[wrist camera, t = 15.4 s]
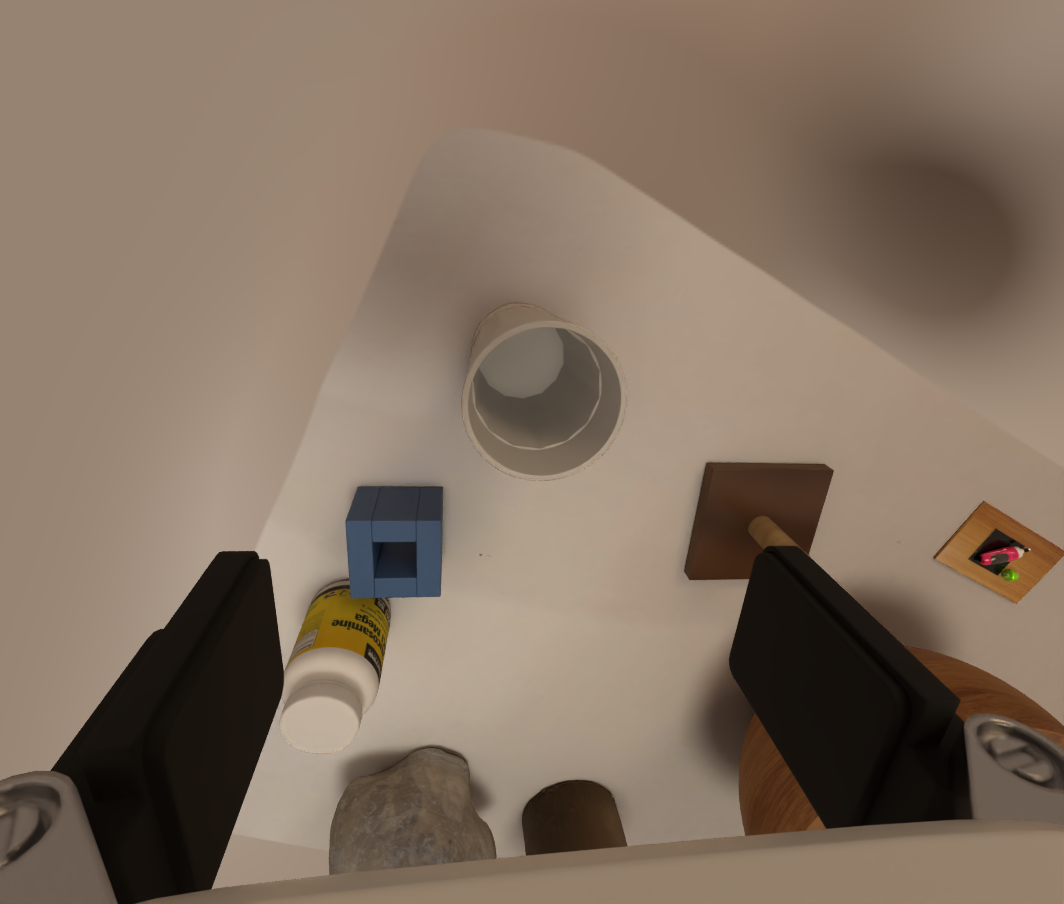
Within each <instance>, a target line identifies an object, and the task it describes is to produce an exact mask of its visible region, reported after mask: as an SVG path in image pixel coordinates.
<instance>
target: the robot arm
mask: <svg viewBox="0 0 1064 904" xmlns="http://www.w3.org/2000/svg"><path fill="white" fill-rule="evenodd" d="M729 665H730V670H731V673H732V675H733V677H734V679H735V680H736V682H737V684H738V685H739V687H740V689H741V690H742V692H743V694H744V695H745V697H746V698H747V700H748V702H749V703H750V705H751V707H752V708H753V710H754V712H755V713H756V715H757V717H758V718H759V720H760V721H761V723H762V725H763V726H764V728H765V730H766V731H767V733H768V735H769V736H770V738H771V739H772V741H773V743H774V744H775V746H776V748H777V749H778V751H779V753H780V754H781V756H782V757H783V759H784V761H785V762H786V764H787V766H788V767H789V769H790V771H791V772H792V774H793V776H794V777H795V779H796V780H797V782H798V784H799V785H800V787H801V789H802V790H803V792H804V794H805V795H806V797H807V798H808V800H809V802H810V803H811V805H812V807H813V808H814V810H815V812H816V813H817V815H818V816H819V818H820V820H821V821H822V823H823V825H824V826H825V828H826V829H820V830H808V831H796V832H785V833H773V834H761V835H749V836H738V837H726V838H715V839H703V840H692V841H681V842H670V843H659V844H648V845H637V846H626V847H615V848H604V849H594V850H583V851H572V852H561V853H550V854H539V855H529V856H518V857H508V858H498V859H487V860H477V861H467V862H457V863H446V864H436V865H426V866H416V867H405V868H395V869H385V870H374V871H364V872H354V873H344V874H336V875H328V876H318V877H311V878H301V879H293V880H284V881H275V882H267V883H258V884H250V885H240V886H232V887H224V888H217V889H212V886H213V883H214V880H215V878H216V875H217V872H218V869H219V867H220V864H221V861H222V859H223V856H224V853H225V850H226V848H227V845H228V842H229V839H230V836H231V834H232V831H233V828H234V826H235V823H236V820H237V817H238V815H239V812H240V809H241V806H242V804H243V801H244V798H245V795H246V793H247V790H248V787H249V784H250V782H251V779H252V776H253V773H254V771H255V768H256V765H257V762H258V760H259V757H260V754H261V751H262V749H263V746H264V743H265V740H266V738H267V735H268V732H269V729H270V727H271V724H272V721H273V718H274V716H275V713H276V710H277V707H278V705H279V702H280V699H281V696H282V692H283V687H284V670H283V663H282V655H281V647H280V640H279V632H278V624H277V616H276V609H275V601H274V593H273V586H272V578H271V570H270V564H269V561H268V560H267V559H259V556H258V554H257V553H256V552H255V551H222V552H219V553H218V554H217V555H216V557H215V558H214V559H213V561H212V562H211V564H210V565H209V566H208V568H207V569H206V570H205V572H204V573H203V575H202V576H201V578H200V579H199V580H198V582H197V583H196V585H195V586H194V587H193V589H192V590H191V592H190V593H189V594H188V596H187V597H186V599H185V600H184V601H183V603H182V604H181V606H180V607H179V609H178V610H177V611H176V613H175V614H174V615H173V617H172V618H171V620H170V621H169V623H168V624H167V625H166V627H165V628H164V629H160V630H157V631H155V632H153V633H152V635H151V636H150V637H149V638H148V639H147V640H146V641H145V643H144V644H143V645H142V647H141V648H140V649H139V651H138V652H137V654H136V655H135V656H134V658H133V659H132V661H131V662H130V663H129V664H128V666H127V667H126V669H125V670H124V671H123V673H122V674H121V675H120V677H119V678H118V680H117V681H116V682H115V684H114V685H113V686H112V688H111V689H110V690H109V692H108V693H107V694H106V696H105V697H104V699H103V700H102V701H101V703H100V704H99V705H98V707H97V708H96V709H95V711H94V712H93V713H92V715H91V716H90V718H89V719H88V720H87V722H86V723H85V724H84V726H83V727H82V728H81V730H80V731H79V733H78V734H77V735H76V737H75V738H74V739H73V741H72V742H71V743H70V745H69V746H68V747H67V749H66V750H65V752H64V753H63V754H62V756H61V757H60V758H59V760H58V761H57V763H56V764H55V765H54V767H53V768H52V769H51V771H33V772H29V773H24V774H19V775H15V776H11V777H9V778H6V779H3V780H1V781H0V904H1064V749H1063V748H1062V747H1061V746H1059V745H1058V744H1057V743H1056V742H1054V741H1053V740H1052V739H1050V738H1048V737H1047V736H1045V735H1044V734H1042V733H1040V732H1039V731H1037V730H1035V729H1034V728H1031V727H1029V726H1027V725H1025V724H1023V723H1021V722H1019V721H1016V720H1013V719H1010V718H1007V717H1004V716H1001V715H995V714H988V713H981V714H974V715H971V716H970V717H969V718H968V719H966V720H965V722H964V721H963V720H962V719H961V718H960V717H959V716H958V715H957V714H956V713H955V712H956V710H957V708H958V705H959V703H960V701H961V700H960V699H959V698H958V697H957V696H956V695H955V694H954V693H953V692H952V691H951V690H950V689H949V688H947V687H946V686H945V685H944V684H943V683H942V682H941V681H940V680H939V679H938V678H937V677H936V676H935V675H934V674H933V673H932V672H931V671H930V670H929V669H927V668H926V667H925V666H924V665H923V664H922V663H921V662H920V661H919V660H918V659H917V658H916V657H915V656H914V655H913V654H912V653H911V652H910V651H908V650H907V649H906V648H905V647H904V646H903V645H902V644H901V643H900V642H899V641H898V640H897V639H896V638H895V637H894V636H893V635H892V634H891V633H889V632H888V631H887V630H886V629H885V628H884V627H883V626H882V625H881V624H880V623H879V622H878V621H877V620H876V619H875V618H874V617H873V616H872V615H870V614H869V613H868V612H867V611H866V610H865V609H864V608H863V607H862V606H861V605H860V604H859V603H858V602H857V601H856V600H855V599H854V598H853V597H852V596H850V595H849V594H848V593H847V592H846V591H845V590H844V589H843V588H842V587H841V586H840V585H839V584H838V583H837V582H836V581H835V580H834V579H833V578H831V577H830V576H829V575H828V574H827V573H826V572H825V571H824V570H823V569H822V568H821V567H820V566H819V565H818V564H817V563H816V562H815V561H814V560H812V559H811V558H810V557H809V556H808V555H807V554H806V553H805V552H804V551H803V550H802V549H801V548H799V547H798V546H767V547H766V548H765V549H764V550H763V552H762V553H759V554H758V555H757V556H756V557H755V560H754V564H753V567H752V571H751V575H750V579H749V583H748V587H747V591H746V594H745V598H744V602H743V606H742V610H741V614H740V618H739V621H738V625H737V629H736V633H735V637H734V641H733V644H732V648H731V652H730V657H729Z"/></svg>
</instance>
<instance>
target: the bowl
mask: <svg viewBox="0 0 1064 904" xmlns="http://www.w3.org/2000/svg"><path fill="white" fill-rule="evenodd" d="M904 647H905V648H906V649H907V650H908V651H910V652H911V653H912V654H913V655H914V656H915V657H916V658H917V659H918V660H919V661H920V662H921V663H922V664H923V665H924V666H925V667H926V668H927V669H929V670H930V671H931V672H932V673H933V674H934V675H935V676H936V677H937V678H938V679H939V680H940V681H941V682H942V683H943V684H944V685H945V686H946V687H947V688H949V689H950V690H951V691H952V692H953V693H954V694H955V695H956V696H957V697H958V698H959V699H960V700H961V701H960V703H959V705H958V708H957V710H956V712H955V713H956V714H957V715H958V716H959V717H960V718H961V719H962V720H963V721H964V722H965V720H966V719H968V718H969V717H970V716H971V715H974V714H981V713H988V714H995V715H1001V716H1004V717H1007V718H1010V719H1013V720H1016V721H1019V722H1021V723H1023V724H1025V725H1027V726H1029V727H1031V728H1034V729H1035V730H1037V731H1039V732H1040V733H1042V734H1044V735H1045V736H1047V737H1048V738H1050V739H1052V740H1053V741H1054V742H1056V743H1057V744H1058V745H1059V746H1061V747H1062V748H1063V749H1064V726H1063V725H1062V724H1061V723H1060V722H1059V721H1058V720H1056V719H1055V718H1054V717H1053V716H1052V715H1051V714H1050V713H1048V712H1047V711H1046V710H1045V709H1043V708H1042V707H1041V706H1039V705H1038V704H1037V703H1036V702H1034V701H1033V700H1032V699H1030V698H1029V697H1027V696H1026V695H1025V694H1023V693H1022V692H1020V691H1019V690H1017V689H1015V688H1014V687H1012V686H1011V685H1009V684H1007V683H1006V682H1004V681H1002V680H1001V679H999V678H997V677H995V676H993V675H991V674H989V673H987V672H985V671H983V670H981V669H979V668H977V667H975V666H972V665H970V664H968V663H965V662H963V661H960V660H958V659H955V658H952V657H949V656H946V655H943V654H939V653H936V652H932V651H928V650H923V649H918V648H913V647H906V646H904ZM739 801H740V810H741V816H742V822H743V826H744V831H745V835H746V836H749V835H761V834H773V833H785V832H796V831H808V830H820V829H826V828H825V826H824V825H823V823H822V821H821V820H820V818H819V816H818V815H817V813H816V812H815V810H814V808H813V807H812V805H811V803H810V802H809V800H808V798H807V797H806V795H805V794H804V792H803V790H802V789H801V787H800V785H799V784H798V782H797V780H796V779H795V777H794V776H793V774H792V772H791V771H790V769H789V767H788V766H787V764H786V762H785V761H784V759H783V757H782V756H781V754H780V753H779V751H778V749H777V748H776V746H775V744H774V743H773V741H772V739H771V738H770V736H769V735H768V733H767V731H766V730H765V728H764V726H763V725H762V723H761V721H760V720H759V718H758V717H757V715H756V713H755V714H754V716H753V718H752V720H751V722H750V724H749V727H748V730H747V733H746V736H745V739H744V743H743V747H742V752H741V758H740V766H739Z"/></svg>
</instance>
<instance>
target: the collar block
mask: <svg viewBox="0 0 1064 904" xmlns="http://www.w3.org/2000/svg"><path fill="white" fill-rule="evenodd" d="M442 513H443V487H421V488H420V487H358V488H357V491H356V494H355V497H354V499H353V502H352V505H351V508H350V510H349V513H348V516H347V519H346V536H347V551H348V566H349V582H350V597H351V598H395V597H440V596H441V572H442Z"/></svg>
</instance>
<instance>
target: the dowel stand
mask: <svg viewBox="0 0 1064 904" xmlns="http://www.w3.org/2000/svg"><path fill="white" fill-rule="evenodd" d="M833 472H834V470H832V469H831V468H829V467H828V466H826V465H824V464H745V463H707V464H706V469H705V474H704V479H703V484H702V489H701V494H700V498H699V503H698V508H697V513H696V518H695V523H694V528H693V533H692V537H691V542H690V547H689V552H688V557H687V562H686V567H685V574H686V575H687V577H688V578H689V580H721V579H750V575H751V571H752V567H753V564H754V560H755V557H756V556H757V555H758V554H759V553H762V552H763V550H764V549H765V548H766V547H767V546H798V547H799V548H801V549H802V550H803V551H804V552H805V553H806V554H807V555H808V556H809V552H810V548H811V545H812V542H813V538H814V535H815V532H816V528H817V525H818V522H819V518H820V515H821V512H822V509H823V505H824V502H825V499H826V495H827V492H828V489H829V485H830V482H831V479H832V475H833ZM809 557H810V556H809ZM810 558H811V557H810Z"/></svg>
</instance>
